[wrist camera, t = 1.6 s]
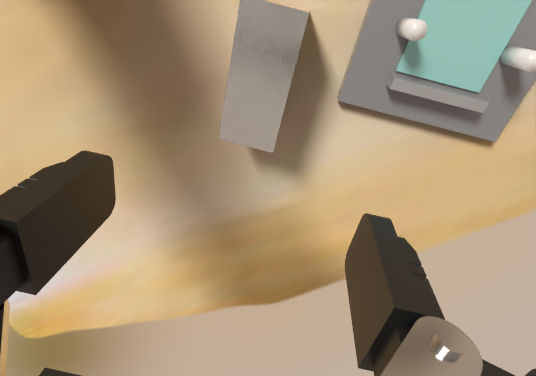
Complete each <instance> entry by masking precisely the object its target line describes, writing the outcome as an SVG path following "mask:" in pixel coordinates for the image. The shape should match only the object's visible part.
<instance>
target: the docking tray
mask: <svg viewBox="0 0 536 376" xmlns="http://www.w3.org/2000/svg"><path fill="white" fill-rule="evenodd" d="M535 80H536V0H370V3H369V6H368V9H367V12H366V15H365V18H364V20H363V23H362V26H361V29H360V32H359V35H358V38H357V41H356V44H355V47H354V50H353V53H352V56H351V58H350V61H349V64H348V67H347V70H346V73H345V76H344V79H343V82H342V85H341V88H340V91H339V94H338V96H337V99H338V101H340V102H344V103H347V104H351V105H355V106H359V107H363V108H367V109H371V110H374V111H378V112H382V113H386V114H390V115H394V116H397V117H401V118H405V119H409V120H413V121H417V122H420V123H424V124H428V125H432V126H436V127H440V128H443V129H447V130H451V131H455V132H459V133H463V134H466V135H470V136H474V137H478V138H482V139H486V140H489V141H493V142H495V141H496V140H497V138H498V137H499V135H500V134H501V132H502V131H503V129H504V127H505V126H506V124H507V123H508V121H509V120H510V118H511V117H512V115H513V114H514V112H515V110H516V109H517V107H518V106H519V104H520V103H521V101H522V100H523V98H524V97H525V95H526V94H527V92H528V90H529V89H530V87H531V86H532V84H533V83H534V81H535Z"/></svg>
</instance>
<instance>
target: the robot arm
mask: <svg viewBox="0 0 536 376" xmlns="http://www.w3.org/2000/svg"><path fill="white" fill-rule="evenodd" d="M114 205H115V182H114V168H113V161H112V158H111V157H110V156H108V155H103V154H99V153H94V152H90V151H81V152H79V153H78V154H76V155H75V156H73V157H72V158H70V159H69V160H67V161H65V162H61V163H58V164H55V165H52V166H49V167H46V168H43V169H42V170H40V171H38V172H37V173H35V174H34V175H32V176H30V178H29V179H26V180H24V181H22V182H21V183H19V184H18V186H17V187H15V186H14V187H13V188H11V189H10V190H8V191H6V192H5V193H3V194H2V195H0V376H6V358H7V342H8V327H9V311H10V305H9V301H8V298H9V297H10V296H11V295H12V294H13V293H14V292H15V291H19V292H24V293H29V294H33V295H36V294H37V293H38V292H39V291H40V290H41V289H42V288H43V287H44V286H45V285H46V284H47V283H48V281H49V280H50V279H51V278H52V277H53V276H54V275H55V274H56V273H57V272H58V271H59V270H60V269H61V268H62V267H63V265H64V264H65V263H66V262H67V261H68V260H69V259H70V258H71V257H72V256H73V255H74V254H75V253H76V252H77V250H78V249H79V248H80V247H81V246H82V245H83V244H84V243H85V242H86V241H87V240H88V239H89V238H90V237H91V235H92V234H93V233H94V232H95V231H96V230H97V229H98V228H99V227H100V226H101V225H102V224H103V223H104V222H105V220H106V219H107V218H108V217H109V216H110V215H111V213H112V211H113V209H114ZM345 273H346V281H347V288H348V296H349V303H350V310H351V318H352V325H353V333H354V340H355V348H356V355H357V362H358V368H361V369H365V370H370V371H374V376H515V375H513V374H511V373H509V372H507V371H505V370H503V369H501V368H499V367H496V366H495V365H493V364H490V363H488V362H486V361H485V360H483V359H482V358H481V355H480V352H479V351H478V349H477V347H476V345H475V344H474V343H473V341H472V340H471V339H470V338H469V337H468V336H467V335H466V334H465V333H464V332H463V331H462V330H460V329H459V328H458V327H456V326H455V325H453V324H452V323H450V322H448V321H446V320H445V318H444V316H443V314H442V311H441V309H440V307H439V304H438V302H437V300H436V297H435V295H434V293H433V290H432V288H431V286H430V283H429V281H428V279H426V274H425V272H424V269H423V267H421V262H420V260H419V258H418V255H417V253H416V251H415V250H414V249H413V248H412V246H411V245H410V244H409V243H408V242H407V241H406V240H405V239H404V238H401V237H397V234H396V231H395V229H394V226H393V223H392V221H391V219H389V218H385V217H380V216H376V215H371V214H367V213H366V214H364V215H363V216H362V218H361V220H360V223H359V225H358V227H357V230H356V232H355V234H354V237H353V239H352V242H351V244H350V246H349V249H348V251H347V255H346V260H345ZM39 376H80V375H75V374H71V373H67V372H62V371H58V370H53V369H49V368H44V370H43V371H42V373H41V374H40V375H39ZM525 376H536V369H533V370H531V371H530V372H528V373H527V374H526V375H525Z"/></svg>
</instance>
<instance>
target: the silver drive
mask: <svg viewBox="0 0 536 376" xmlns="http://www.w3.org/2000/svg"><path fill="white" fill-rule="evenodd" d="M308 16H309V10H308V9H304V8H300V7H296V6H293V5H289V4H285V3H281V2H278V1H274V0H240V4H239V10H238V17H237V23H236V30H235V36H234V42H233V49H232V55H231V61H230V68H229V74H228V80H227V87H226V93H225V100H224V106H223V112H222V119H221V125H220V131H219V138H218V139H220V140H224V141H228V142H232V143H236V144H240V145H244V146H248V147H252V148H255V149H259V150H263V151H267V152H271V153H273V151H274V147H275V143H276V140H277V136H278V132H279V128H280V124H281V120H282V116H283V113H284V109H285V105H286V101H287V97H288V93H289V90H290V86H291V82H292V78H293V74H294V70H295V66H296V63H297V59H298V55H299V51H300V47H301V43H302V40H303V36H304V32H305V28H306V24H307V20H308Z"/></svg>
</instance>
